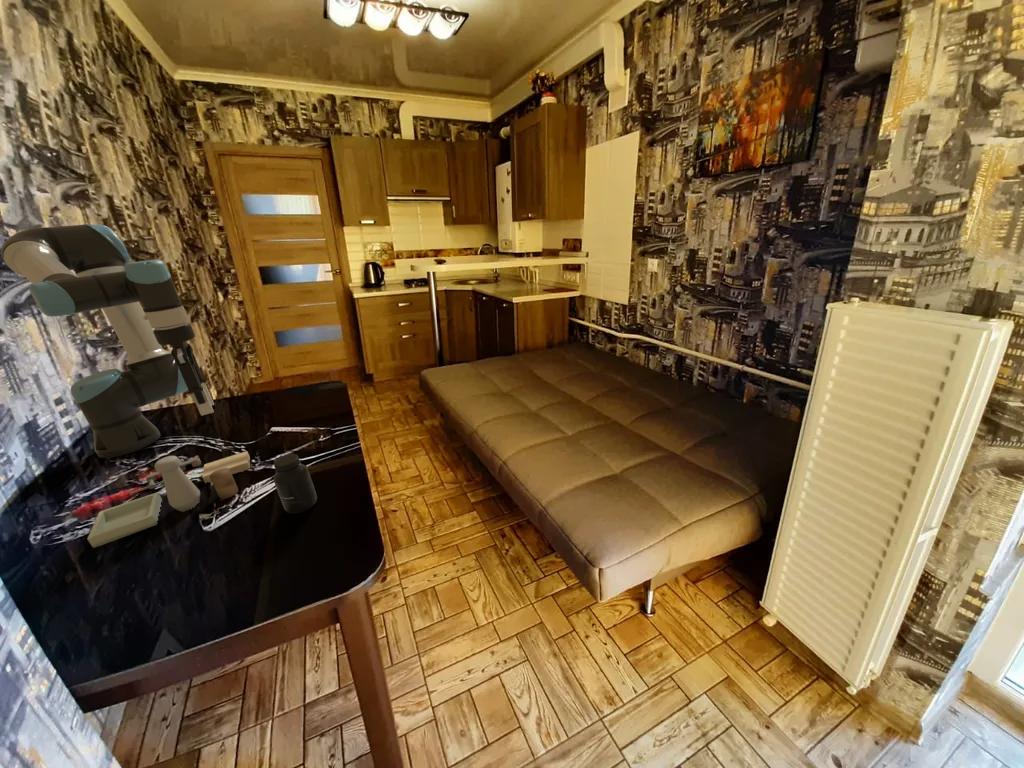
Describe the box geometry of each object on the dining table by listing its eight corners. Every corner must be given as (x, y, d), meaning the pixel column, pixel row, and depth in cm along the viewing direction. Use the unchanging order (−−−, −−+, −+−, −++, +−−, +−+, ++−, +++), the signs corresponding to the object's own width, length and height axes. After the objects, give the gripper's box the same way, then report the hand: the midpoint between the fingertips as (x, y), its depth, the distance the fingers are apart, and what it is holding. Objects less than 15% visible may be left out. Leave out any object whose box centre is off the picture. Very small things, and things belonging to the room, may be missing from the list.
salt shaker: (184, 499, 97) (161, 453, 92) (209, 496, 97) (186, 450, 92) (167, 516, 92) (141, 468, 87) (193, 512, 92) (169, 465, 87)
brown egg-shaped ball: (219, 492, 98) (209, 472, 96) (238, 486, 100) (229, 465, 98) (219, 501, 95) (209, 480, 93) (238, 493, 97) (229, 473, 95)
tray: (104, 520, 92) (99, 511, 91) (162, 500, 98) (158, 492, 97) (93, 548, 84) (87, 539, 83) (156, 524, 89) (151, 515, 88)
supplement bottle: (285, 519, 87) (266, 473, 82) (285, 501, 93) (267, 457, 88) (319, 507, 90) (303, 462, 85) (317, 490, 95) (302, 447, 91)
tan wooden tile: (207, 471, 108) (204, 464, 108) (250, 458, 113) (247, 450, 112) (205, 484, 103) (202, 477, 102) (250, 469, 107) (247, 462, 107)
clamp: (196, 451, 115) (200, 464, 108) (199, 457, 116) (203, 471, 109) (127, 475, 106) (127, 491, 99) (131, 482, 107) (131, 498, 100)
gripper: (156, 323, 105) (193, 403, 114) (146, 336, 90) (188, 426, 100) (191, 316, 108) (224, 395, 118) (187, 329, 94) (224, 416, 103)
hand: (207, 409), depth 109 cm, fingers open, 5 cm apart
